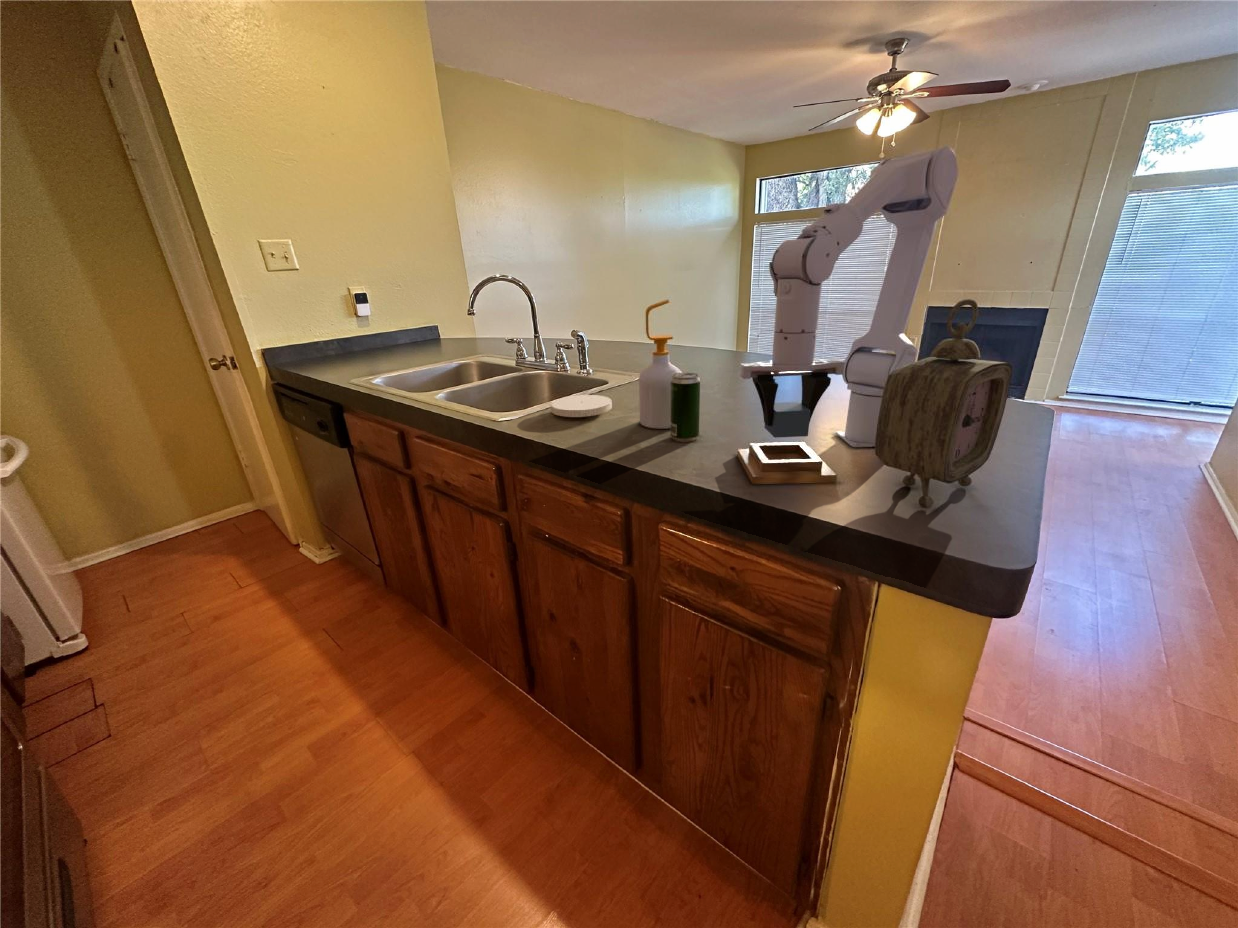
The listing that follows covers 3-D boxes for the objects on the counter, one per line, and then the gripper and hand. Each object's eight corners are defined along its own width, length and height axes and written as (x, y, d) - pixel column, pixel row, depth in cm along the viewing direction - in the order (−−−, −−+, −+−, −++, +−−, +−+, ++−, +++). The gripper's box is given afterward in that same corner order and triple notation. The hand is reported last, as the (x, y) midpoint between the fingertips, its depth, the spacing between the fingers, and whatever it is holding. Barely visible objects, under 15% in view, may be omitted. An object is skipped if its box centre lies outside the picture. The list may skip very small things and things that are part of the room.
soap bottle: (685, 428, 96) (687, 300, 87) (640, 430, 96) (637, 302, 87) (680, 416, 104) (681, 298, 95) (639, 418, 105) (636, 300, 96)
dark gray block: (795, 426, 76) (798, 401, 74) (807, 436, 71) (810, 410, 69) (764, 427, 76) (766, 403, 74) (774, 437, 71) (776, 411, 69)
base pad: (808, 453, 80) (810, 438, 79) (835, 482, 69) (838, 465, 68) (737, 455, 81) (737, 440, 80) (752, 484, 70) (753, 467, 69)
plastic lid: (569, 403, 119) (568, 393, 118) (621, 407, 114) (620, 396, 113) (540, 419, 107) (539, 408, 106) (596, 423, 102) (595, 412, 101)
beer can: (683, 444, 87) (683, 379, 83) (664, 437, 92) (664, 375, 87) (705, 438, 90) (706, 375, 86) (686, 431, 94) (686, 371, 90)
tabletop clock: (931, 517, 59) (979, 304, 49) (861, 493, 66) (892, 302, 56) (984, 487, 66) (1034, 296, 57) (915, 468, 73) (950, 295, 64)
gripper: (833, 326, 71) (823, 413, 76) (737, 330, 71) (732, 417, 76) (856, 331, 65) (843, 426, 70) (750, 336, 65) (744, 431, 70)
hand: (786, 423), depth 73 cm, fingers closed on dark gray block, 5 cm apart
